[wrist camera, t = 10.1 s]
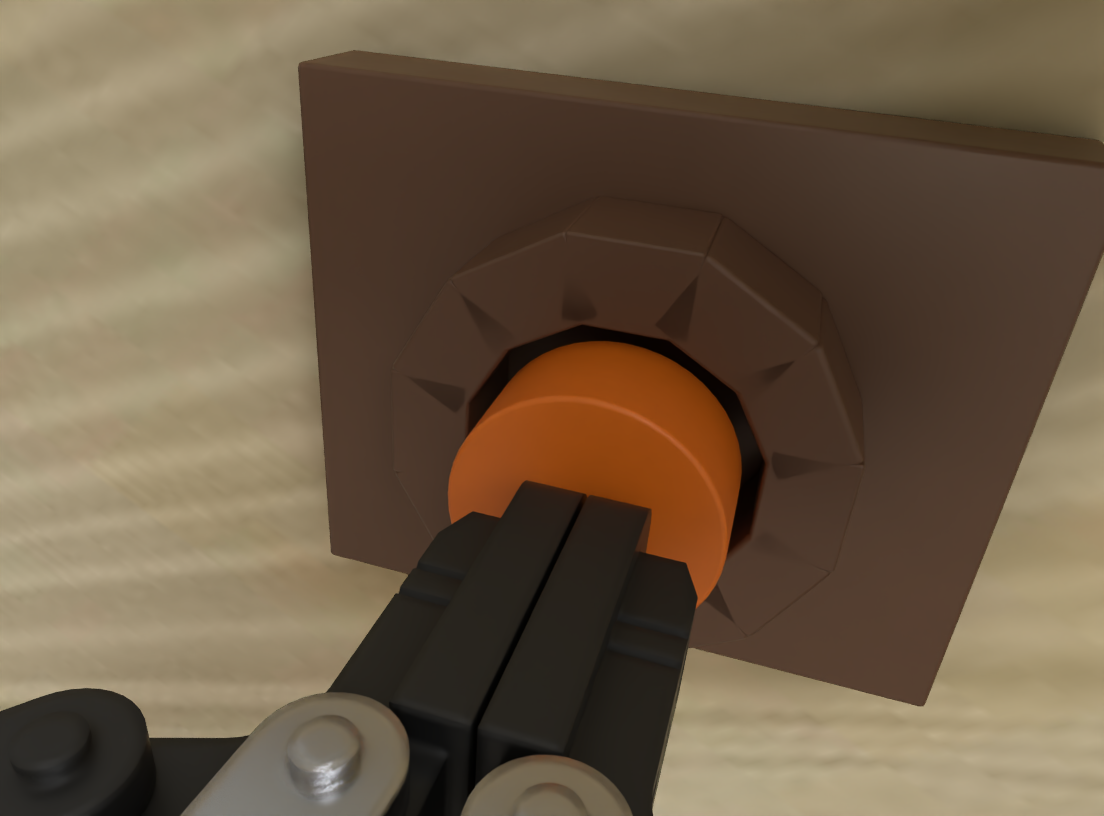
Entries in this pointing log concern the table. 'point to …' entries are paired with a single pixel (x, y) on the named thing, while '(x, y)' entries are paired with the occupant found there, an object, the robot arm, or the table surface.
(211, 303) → the table surface
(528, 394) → the button
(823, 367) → the control block
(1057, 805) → the table surface
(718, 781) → the table surface
